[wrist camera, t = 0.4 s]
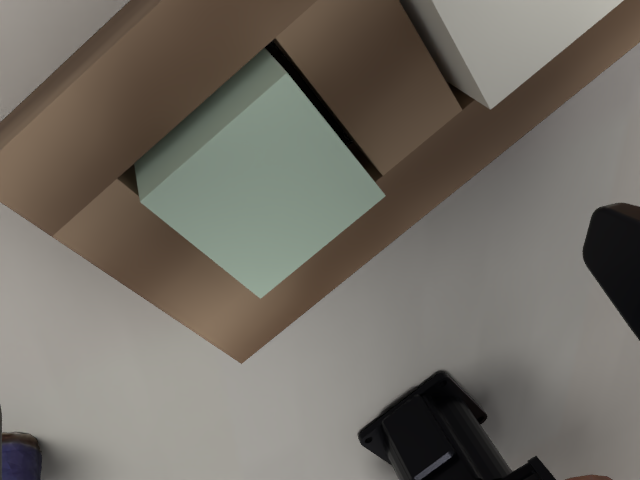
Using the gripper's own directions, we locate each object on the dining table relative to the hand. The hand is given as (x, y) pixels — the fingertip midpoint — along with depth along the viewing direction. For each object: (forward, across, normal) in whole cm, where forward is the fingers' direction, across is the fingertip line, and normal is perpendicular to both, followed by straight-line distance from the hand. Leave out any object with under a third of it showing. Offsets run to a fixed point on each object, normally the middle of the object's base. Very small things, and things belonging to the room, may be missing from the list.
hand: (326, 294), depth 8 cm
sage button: (+12, -1, +4) cm, 13 cm away
